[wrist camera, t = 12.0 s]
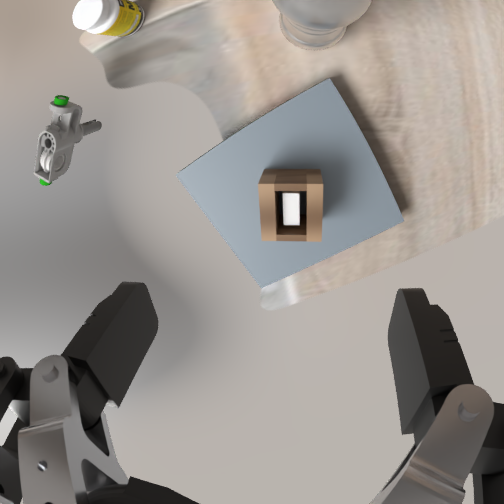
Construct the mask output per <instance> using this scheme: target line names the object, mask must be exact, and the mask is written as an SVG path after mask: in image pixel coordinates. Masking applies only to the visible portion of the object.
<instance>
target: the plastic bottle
mask: <svg viewBox="0 0 504 504" xmlns="http://www.w3.org/2000/svg"><path fill="white" fill-rule="evenodd" d="M272 1H273V3H274V4H275V6H276V7H277V8H278V10H279V11H280V12H281V13H280V17H279V23H280V28H281V30H282V33H283V34H284V36H285V37H286V38H287V39H288V40H289V41H290V42H291V43H292V44H294V45H295V46H298V47H300V48H302V49H306V50H323V49H326V48H329V47H331V46H333V45H335V44H336V43H337V42H339V40H340V39H341V38H342V37H343V35H344V33H345V31H346V27H347V25H349V24H351V23H353V22H354V21H356V20H357V19H359V18H360V17H361V16H362V15H363V14H364V13H365V12H366V11H367V9H368V8H369V6H370V4H371V1H372V0H272Z"/></svg>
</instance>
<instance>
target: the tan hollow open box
mask: <svg viewBox="0 0 504 504" xmlns="http://www.w3.org/2000/svg"><path fill="white" fill-rule="evenodd" d="M279 191H306V214H300V225H284V222H283V214H280V206H279ZM258 193H259V208H260V224H261V239H262V241H307V242H322V216H323V180H322V175H321V170H320V169H264V171H263V173H262V175H261V178H260V180H259V183H258Z"/></svg>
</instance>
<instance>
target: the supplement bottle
mask: <svg viewBox="0 0 504 504" xmlns="http://www.w3.org/2000/svg"><path fill="white" fill-rule="evenodd" d="M143 21H144V10H143V8H142V7H141V6H140V5H139V4H137V3H134V2H131V1H128V0H80V1H79V2H78V4H77V5H76V7H75V9H74V12H73V23H74V25H75V26H76V27H77V28H79V29H83V30H87V31H88V32H90V33H93V34H102V35H111V36H118V37H127V36H130V35H132V34H134V33H135V32H137V31H138V30H139V28H140V27H141V25H142V23H143Z"/></svg>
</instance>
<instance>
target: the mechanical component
mask: <svg viewBox="0 0 504 504" xmlns="http://www.w3.org/2000/svg"><path fill="white" fill-rule="evenodd" d="M68 100H69V97H66V96H62V95H58V96H56V97H55V100H54V101H52V102H51V103H50V107H49V109H50V110H51V111H52V112H53V117H52V122H51V125H49V126H47V127H46V130H45V131H43V132H41V134H40V135H39V137H38V148H37V154H36V161H35V169H34V175H35V176H37V177H39V178H40V183H41V184H42V185H46V186H47V185H50V184H51V183H52V181H54V180H56V179H58V177H59V176H61V175H63V174H64V173H65V172H66V171H67V170H68V168H69V165H70V162H71V157H72V152H73V148H74V143H78V142H80V141H81V139H82V138H83V136H85V135H87V134H90V133H93V132H95V131H98V130H100V129H101V122H99V121H97V122H96V120H93V121H89V122H86V123H83V124H79V123H80V119H81V115H82V107H81V106H79V105H76V104H74V103H71V102H69V101H68ZM61 115H62V116H61ZM60 116H61V121H60ZM43 151H44V153H43V154H42V152H43ZM41 154H42V157H41ZM40 157H41V163H40Z"/></svg>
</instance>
